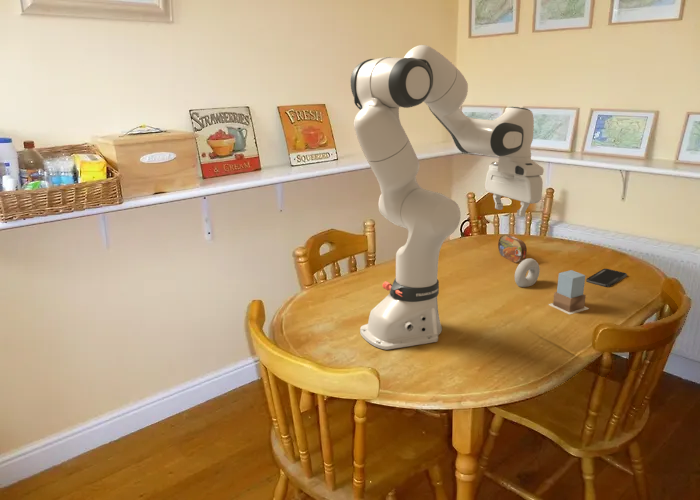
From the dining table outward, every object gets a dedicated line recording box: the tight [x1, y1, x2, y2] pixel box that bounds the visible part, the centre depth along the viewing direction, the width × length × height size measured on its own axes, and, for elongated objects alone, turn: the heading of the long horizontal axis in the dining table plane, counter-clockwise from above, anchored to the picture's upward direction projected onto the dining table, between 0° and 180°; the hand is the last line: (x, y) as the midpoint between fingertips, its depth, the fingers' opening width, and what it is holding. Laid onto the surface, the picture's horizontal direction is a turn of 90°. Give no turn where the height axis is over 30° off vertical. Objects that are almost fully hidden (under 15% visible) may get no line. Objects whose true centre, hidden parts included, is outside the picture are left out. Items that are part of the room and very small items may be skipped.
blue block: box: [556, 269, 586, 298], centre depth 159 cm, size 5×5×6 cm
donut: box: [514, 258, 541, 288], centre depth 177 cm, size 10×4×10 cm, turn 123°
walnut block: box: [553, 291, 587, 312], centre depth 160 cm, size 6×6×4 cm
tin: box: [497, 234, 528, 263], centre depth 204 cm, size 15×3×8 cm, turn 17°
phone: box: [585, 268, 628, 288], centre depth 185 cm, size 8×1×15 cm
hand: (509, 212), depth 162 cm, fingers open, 8 cm apart
